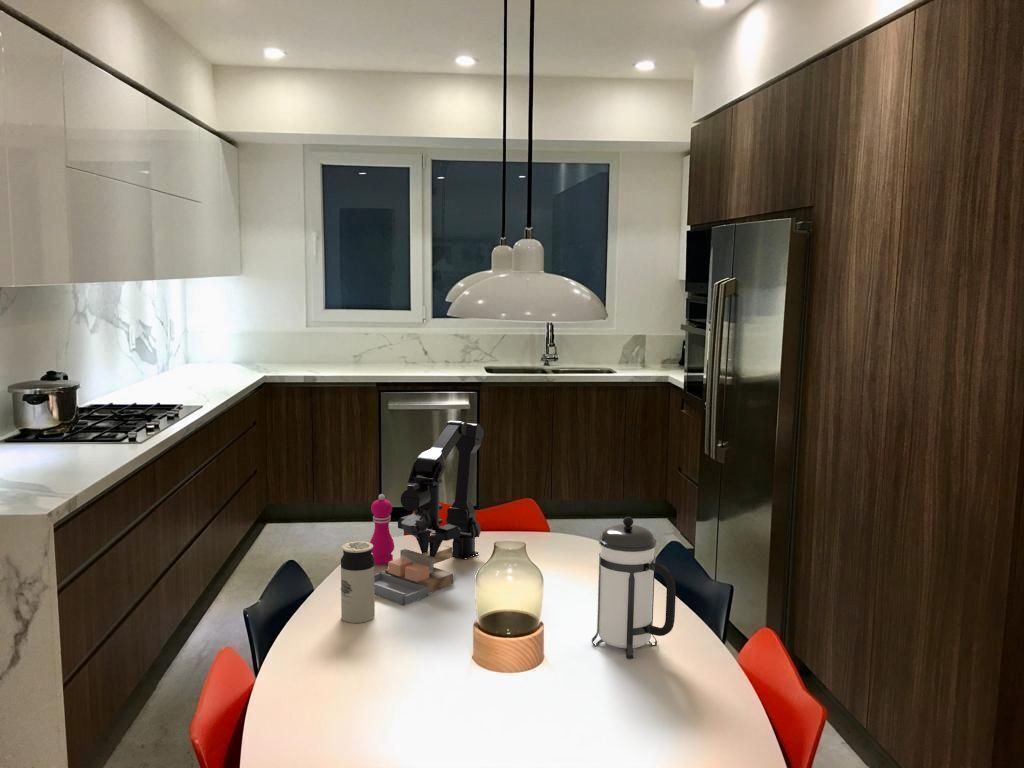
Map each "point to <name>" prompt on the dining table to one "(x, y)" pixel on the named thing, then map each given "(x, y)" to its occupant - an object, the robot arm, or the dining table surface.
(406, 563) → the tan square block
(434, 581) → the board
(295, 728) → the dining table surface
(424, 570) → the tile
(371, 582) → the travel mug
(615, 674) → the dining table surface
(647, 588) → the coffee press
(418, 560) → the scraper
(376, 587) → the box
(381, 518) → the pepper mill
